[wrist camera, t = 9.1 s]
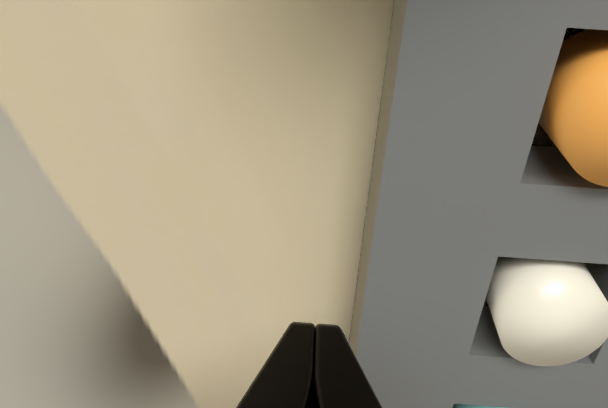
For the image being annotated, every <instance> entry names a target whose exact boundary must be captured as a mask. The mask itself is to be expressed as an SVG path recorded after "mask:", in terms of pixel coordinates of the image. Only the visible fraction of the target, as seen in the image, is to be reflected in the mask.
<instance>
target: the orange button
mask: <svg viewBox="0 0 608 408" xmlns="http://www.w3.org/2000/svg"><path fill="white" fill-rule="evenodd" d="M538 123H539V124H540V126H541V127H542V128H543V130H544V131H545V132H546V133H547V135H548V136H549V137H550V139H551V140H552V141H553V143H554V144H555V145H556V147H557V148H558V149H559V151H560V152H561V153H562V154H563V156H564V157H565V158H566V160H567V161H568V162H569V164H570V165H571V166H572V168H573V169H574V170H575V171H576V172H577V173H578V174H579V175H580V176H581V177H583V178H584V179H586V180H588V181H589V182H592V183H594V184H597V185H601V186H605V187H608V30H596V29H590V30H586V31H583V32H580V33H578V34H576V35H574V36H572V37H570V38H568V39H566V40H565V41H563V42H562V46H561V49H560V52H559V56H558V59H557V62H556V65H555V69H554V72H553V75H552V79H551V82H550V85H549V89H548V92H547V95H546V99H545V102H544V105H543V109H542V112H541V115H540V119H539V122H538Z"/></svg>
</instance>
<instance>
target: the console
mask: <svg viewBox="0 0 608 408" xmlns="http://www.w3.org/2000/svg"><path fill="white" fill-rule="evenodd" d="M567 28H581V29H596V30H608V0H394V6H393V14H392V21H391V29H390V36H389V44H388V52H387V59H386V67H385V74H384V82H383V89H382V97H381V104H380V112H379V119H378V127H377V135H376V142H375V150H374V157H373V165H372V172H371V180H370V187H369V195H368V202H367V210H366V217H365V225H364V233H363V240H362V248H361V255H360V263H359V270H358V278H357V285H356V293H355V300H354V308H353V315H352V323H351V331H350V338H349V345H350V347H351V349H352V351H353V353H354V355H355V357H356V358H357V360H358V362H359V364H360V366H361V368H362V370H363V372H364V374H365V376H366V378H367V379H368V381H369V383H370V385H371V387H372V389H373V391H374V393H375V395H376V397H377V399H378V400H379V402H380V404H381V406H382V408H453V405H454V404H467V405H480V406H493V407H507V408H608V338H607V339H606V340H605V342H604V343H603V344H602V345H601V346H600V347H599V348H598V349H596V350H595V351H594V352H592V353H591V354H589V355H587V356H586V357H584V358H582V359H579V360H577V361H574V362H571V363H568V364H563V365H558V366H535V365H530V364H526V363H523V362H520V361H518V360H516V359H515V358H513V357H512V356H510V355H509V354H508V353H507V352H506V351H505V349H504V348H503V346H502V344H501V341H500V338H499V335H498V332H497V329H496V327H495V324H494V321H493V318H492V315H491V312H490V309H489V307H488V306H483V305H484V302H485V299H486V295H487V292H488V289H489V285H490V282H491V279H492V275H493V272H494V269H495V265H496V262H497V259H498V257H512V258H526V259H540V260H554V261H569V262H583V263H587V265H586V267H587V269H588V271H589V272H590V274H591V275H592V277H593V279H594V280H595V282H596V284H597V285H598V287H599V289H600V290H601V292H602V293H603V295H604V297H605V298H606V300H607V302H608V187H605V186H601V185H597V184H594V183H592V182H589V181H588V180H586V179H584V178H583V177H581V176H580V175H579V174H578V173H577V172H576V171H575V170H574V169H573V168H572V166H571V165H570V164H569V162H568V161H567V160H566V158H565V157H564V156H563V154H562V153H561V152H560V151H559V149H558V148H557V147H547V146H532V142H533V139H534V135H535V132H536V129H537V125H538V122H539V119H540V115H541V112H542V109H543V105H544V102H545V99H546V95H547V92H548V89H549V85H550V82H551V79H552V75H553V72H554V69H555V65H556V62H557V59H558V56H559V52H560V49H561V46H562V42H563V39H564V36H565V32H566V29H567Z"/></svg>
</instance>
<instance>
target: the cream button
mask: <svg viewBox="0 0 608 408" xmlns="http://www.w3.org/2000/svg"><path fill="white" fill-rule="evenodd" d="M486 300H487V303H488V306H489V309H490V312H491V315H492V318H493V321H494V324H495V327H496V329H497V332H498V335H499V338H500V341H501V344H502V346H503V348H504V349H505V351H506V352H507V353H508V354H509V355H510V356H512V357H513V358H515V359H516V360H518V361H520V362H523V363H526V364H530V365H535V366H558V365H563V364H568V363H571V362H574V361H577V360H579V359H582V358H584V357H586V356H587V355H589V354H591V353H592V352H594V351H595V350H596V349H598V348H599V347H600V346H601V345H602V344H603V343H604V342H605V340H606V339H607V338H608V302H607V300H606V298H605V297H604V295H603V293H602V292H601V290H600V289H599V287H598V285H597V284H596V282H595V280H594V279H593V277H592V275H591V274H590V272H589V271H588V269H587V267H586V266H585V264H584V263H583V262H569V261H554V260H540V259H526V258H512V257H498V259H497V262H496V265H495V269H494V272H493V275H492V279H491V282H490V285H489V289H488V292H487V295H486Z"/></svg>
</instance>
